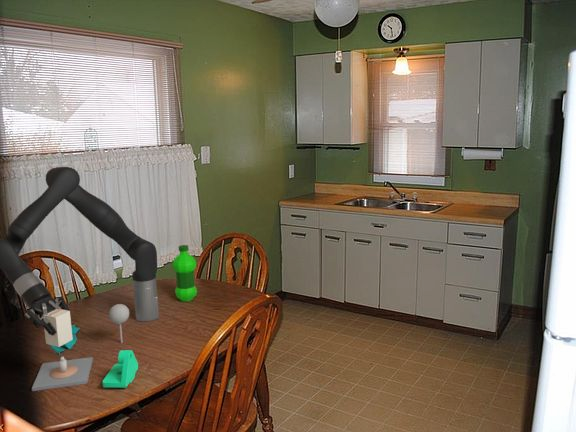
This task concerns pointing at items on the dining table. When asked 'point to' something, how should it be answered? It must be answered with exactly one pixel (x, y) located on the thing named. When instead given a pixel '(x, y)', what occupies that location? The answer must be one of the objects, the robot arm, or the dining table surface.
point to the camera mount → (122, 370)
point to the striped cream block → (59, 327)
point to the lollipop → (119, 315)
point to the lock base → (63, 373)
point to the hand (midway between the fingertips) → (62, 329)
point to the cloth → (68, 344)
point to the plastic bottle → (185, 274)
